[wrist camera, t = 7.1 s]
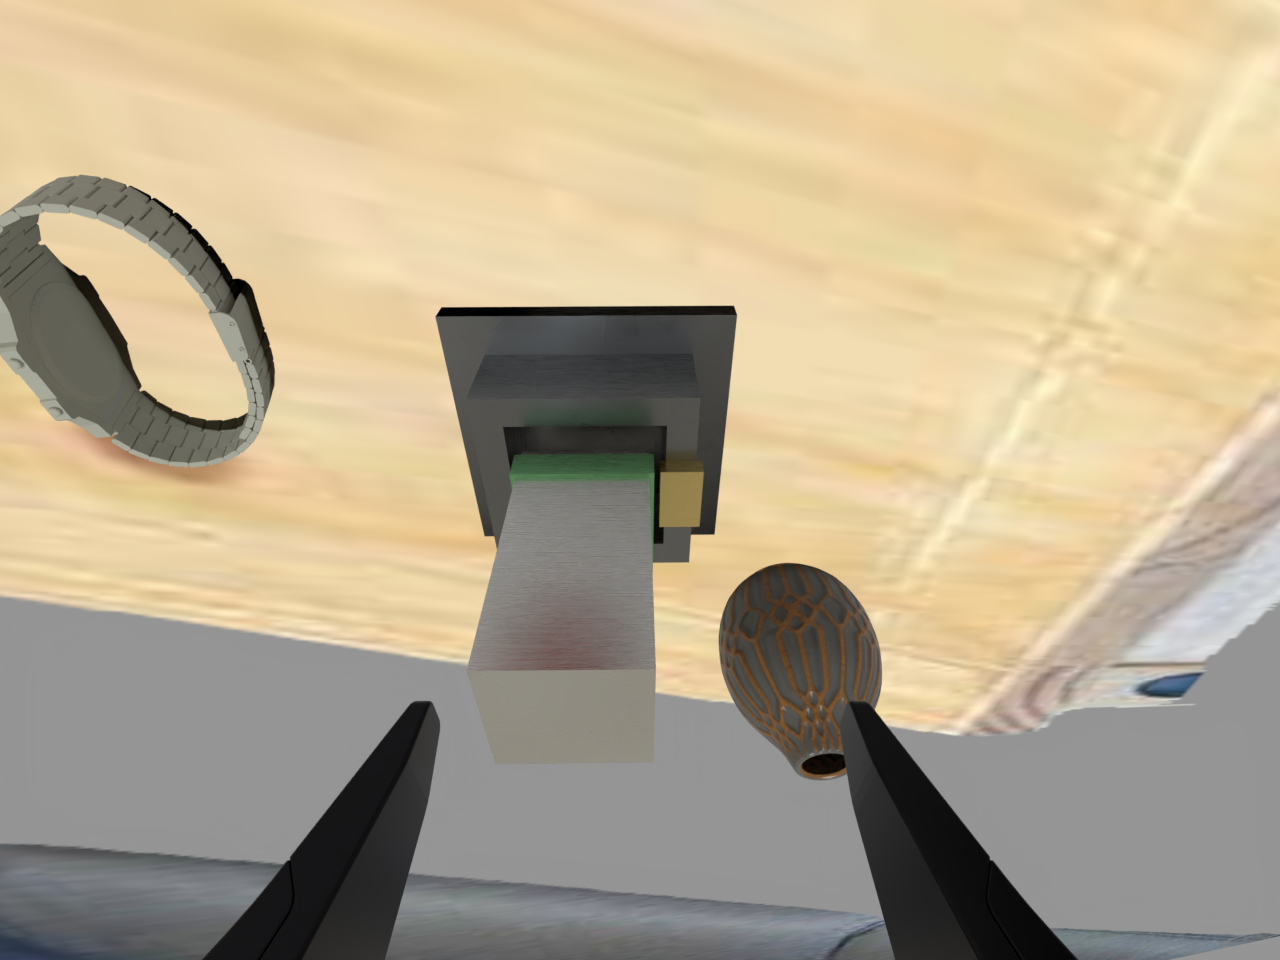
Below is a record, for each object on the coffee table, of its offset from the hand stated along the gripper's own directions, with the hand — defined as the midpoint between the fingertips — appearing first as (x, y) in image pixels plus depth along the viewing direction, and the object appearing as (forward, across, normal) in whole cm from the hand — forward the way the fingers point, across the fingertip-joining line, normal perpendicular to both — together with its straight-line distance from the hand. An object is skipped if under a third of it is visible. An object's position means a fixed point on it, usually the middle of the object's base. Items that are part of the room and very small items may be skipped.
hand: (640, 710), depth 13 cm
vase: (+13, -7, +11) cm, 18 cm away
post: (+8, +2, +1) cm, 9 cm away
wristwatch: (+13, +16, -4) cm, 21 cm away
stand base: (+13, +2, +1) cm, 13 cm away
